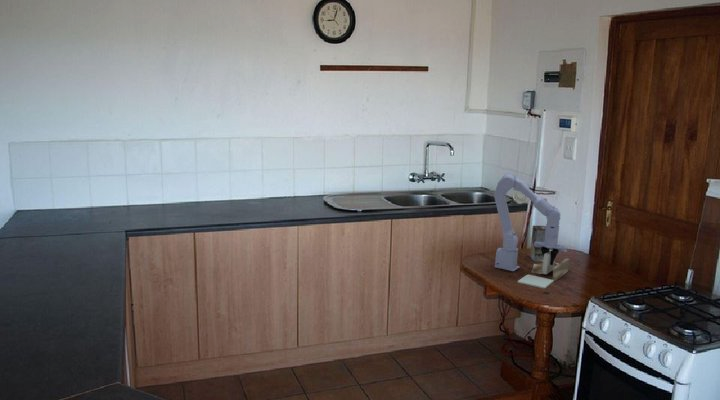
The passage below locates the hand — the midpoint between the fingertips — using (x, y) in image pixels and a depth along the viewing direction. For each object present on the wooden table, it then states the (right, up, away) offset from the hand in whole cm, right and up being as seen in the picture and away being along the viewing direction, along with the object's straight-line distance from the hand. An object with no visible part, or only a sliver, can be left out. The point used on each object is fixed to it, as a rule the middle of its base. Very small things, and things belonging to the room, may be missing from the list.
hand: (548, 263), depth 276 cm
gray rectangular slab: (0, -3, +1) cm, 3 cm away
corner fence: (0, -4, +1) cm, 4 cm away
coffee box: (+1, 0, +22) cm, 22 cm away
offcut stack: (-4, -4, +4) cm, 7 cm away
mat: (-9, -7, -12) cm, 17 cm away
